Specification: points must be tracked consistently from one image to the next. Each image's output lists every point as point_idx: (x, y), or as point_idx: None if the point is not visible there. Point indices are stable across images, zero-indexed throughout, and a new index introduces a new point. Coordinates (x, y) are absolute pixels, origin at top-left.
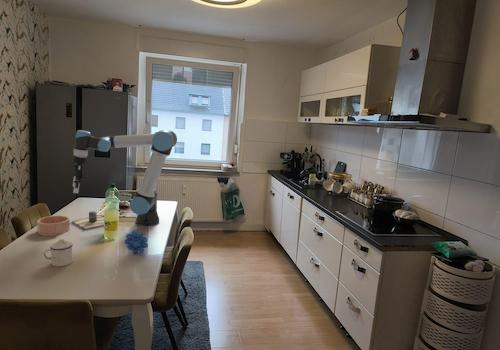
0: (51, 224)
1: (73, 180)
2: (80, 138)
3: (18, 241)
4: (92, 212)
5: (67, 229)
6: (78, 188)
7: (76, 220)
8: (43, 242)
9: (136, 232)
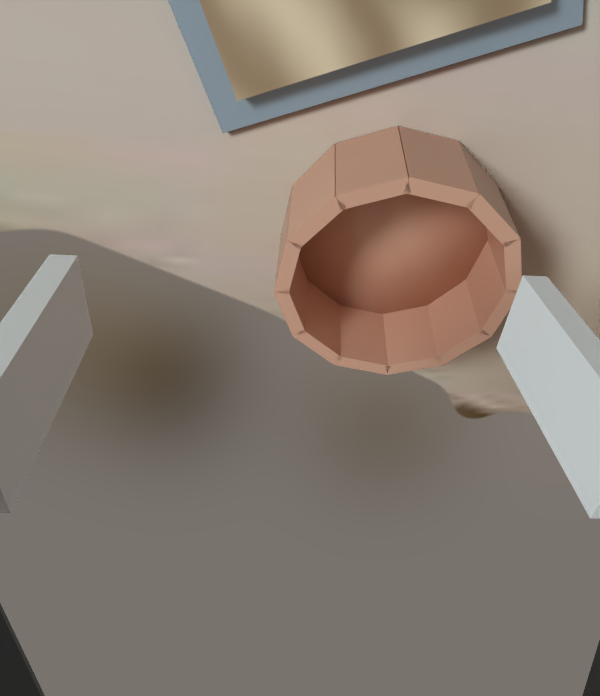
0: (507, 310)
1: (49, 424)
2: None
3: (472, 385)
4: None
5: (475, 164)
6: (590, 343)
7: (235, 55)
8: (581, 299)
9: None
